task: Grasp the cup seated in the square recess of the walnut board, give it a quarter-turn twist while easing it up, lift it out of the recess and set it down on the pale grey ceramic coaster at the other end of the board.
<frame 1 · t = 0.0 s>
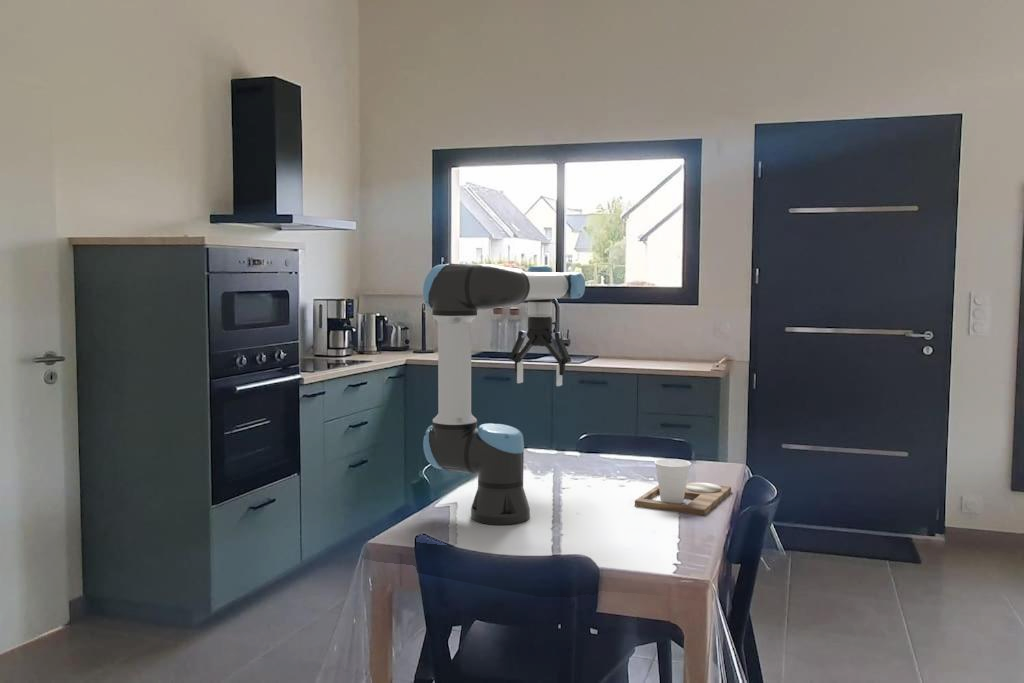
hand: (539, 384, 272), 28 cm above the table, fingers open, 13 cm apart
cup: (671, 502, 241), resting in board
board: (684, 498, 244), on the table
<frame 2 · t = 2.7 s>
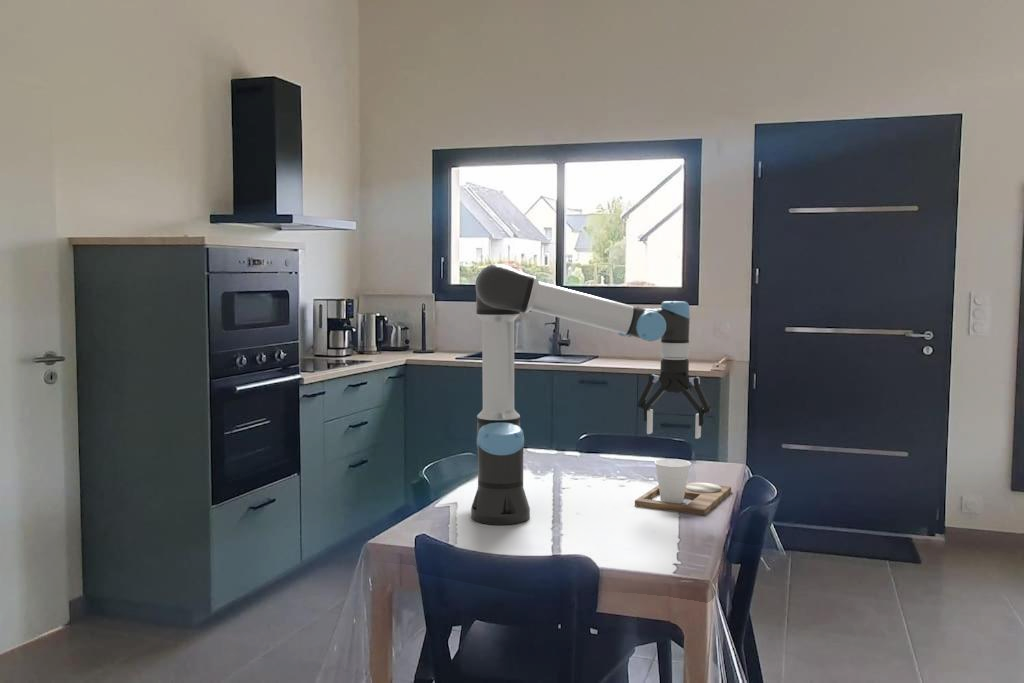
hand: (673, 435, 239), 18 cm above the table, fingers open, 13 cm apart
nothing on the table moved.
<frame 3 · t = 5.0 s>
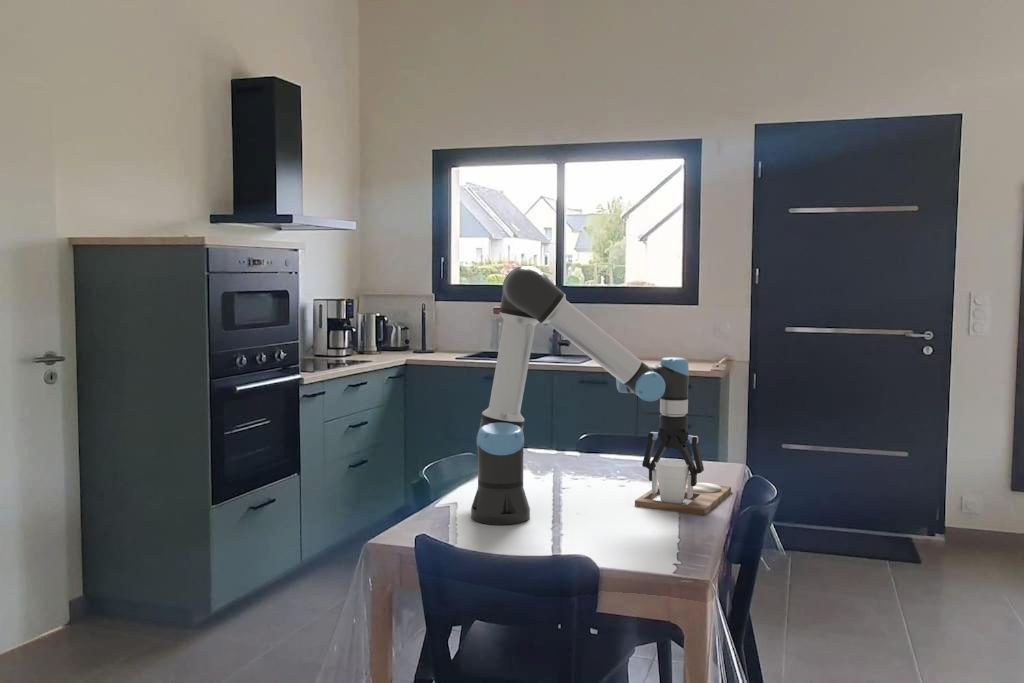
hand: (672, 495, 240), 2 cm above the table, fingers closed on cup, 9 cm apart
cup: (672, 502, 241), resting in board, touching gripper
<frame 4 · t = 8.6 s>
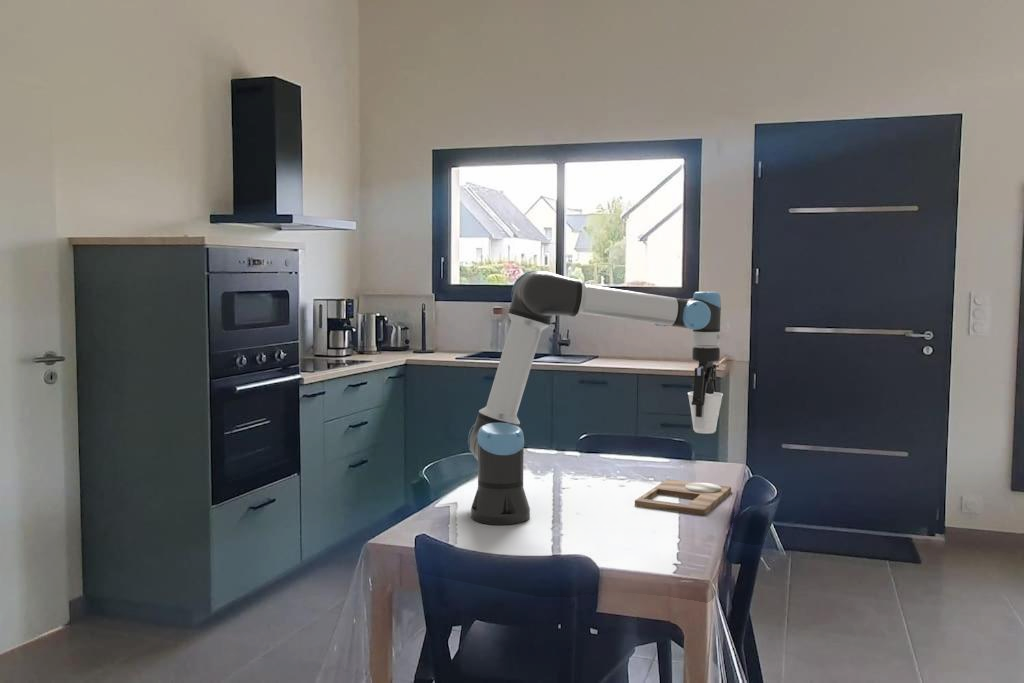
hand: (704, 425, 248), 20 cm above the table, fingers closed on cup, 9 cm apart
cup: (704, 432, 248), point 18 cm above the table, touching gripper
when the fingers open (5 cm above the table, at t = 12.1 s): cup drops 1 cm, resting on board.
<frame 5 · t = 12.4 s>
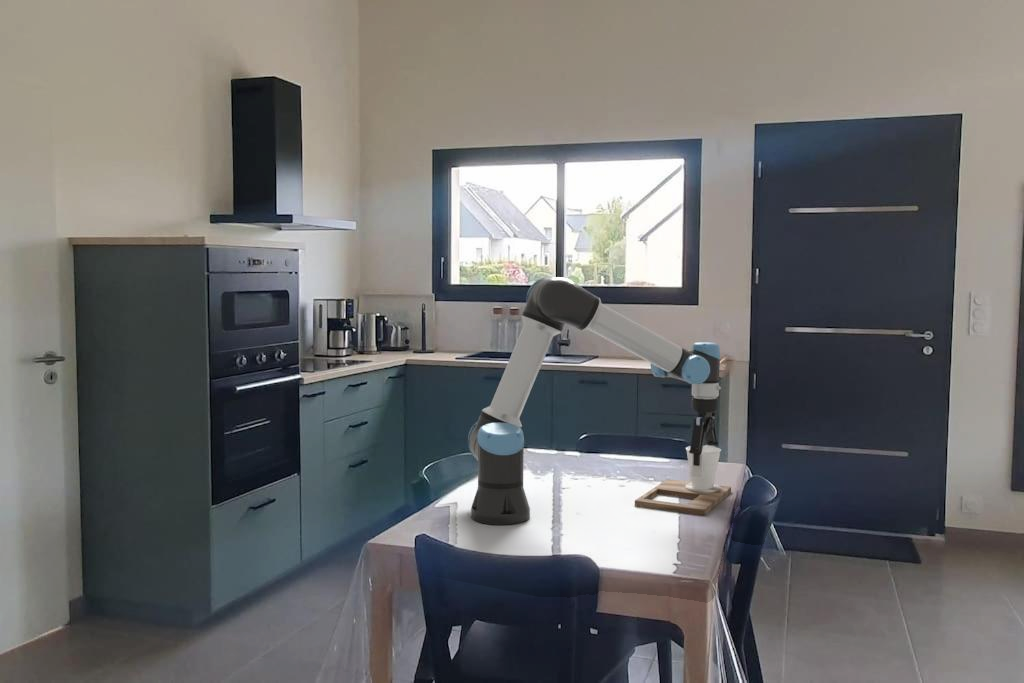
hand: (703, 472, 249), 6 cm above the table, fingers open, 12 cm apart
cup: (702, 487, 249), point 2 cm above the table, touching board
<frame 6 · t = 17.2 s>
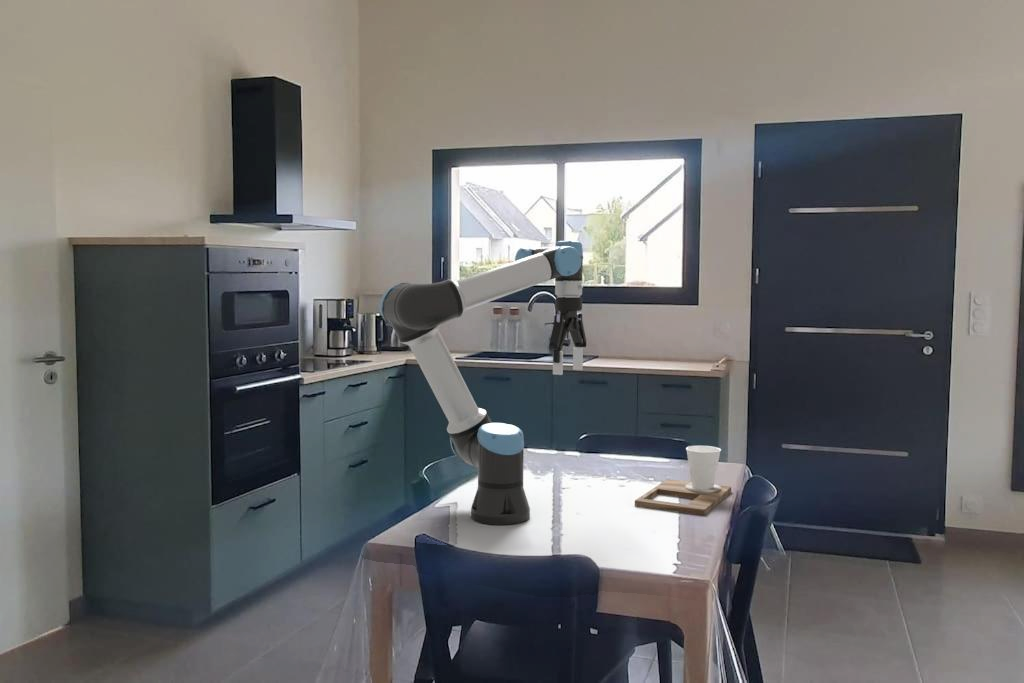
hand: (567, 372, 246), 35 cm above the table, fingers open, 13 cm apart
nothing on the table moved.
at the end: cup inside the target area on the board (0.3 cm from its centre), point 1.8 cm above the board's base; cup tilted 0°; the gripper is holding nothing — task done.
